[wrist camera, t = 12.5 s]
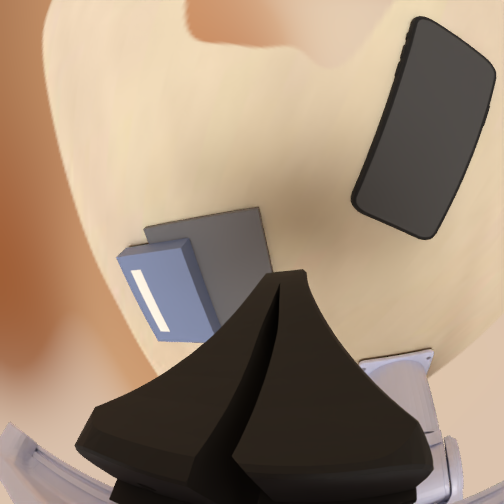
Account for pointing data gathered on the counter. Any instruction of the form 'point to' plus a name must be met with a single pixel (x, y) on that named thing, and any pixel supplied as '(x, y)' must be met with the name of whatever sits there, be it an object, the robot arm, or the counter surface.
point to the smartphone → (425, 131)
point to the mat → (223, 254)
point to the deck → (170, 290)
